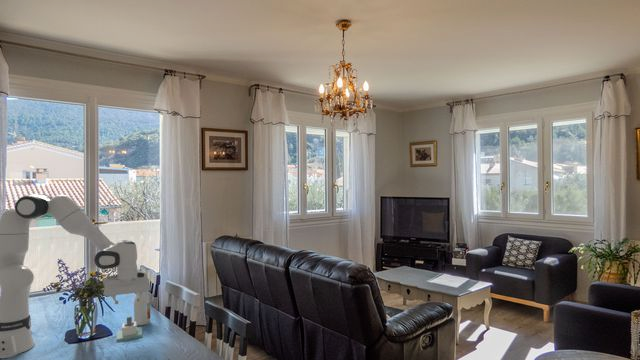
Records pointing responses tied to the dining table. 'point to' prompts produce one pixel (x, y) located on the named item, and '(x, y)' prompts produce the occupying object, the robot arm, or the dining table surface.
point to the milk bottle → (142, 309)
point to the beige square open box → (129, 329)
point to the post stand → (121, 338)
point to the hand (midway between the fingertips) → (127, 302)
